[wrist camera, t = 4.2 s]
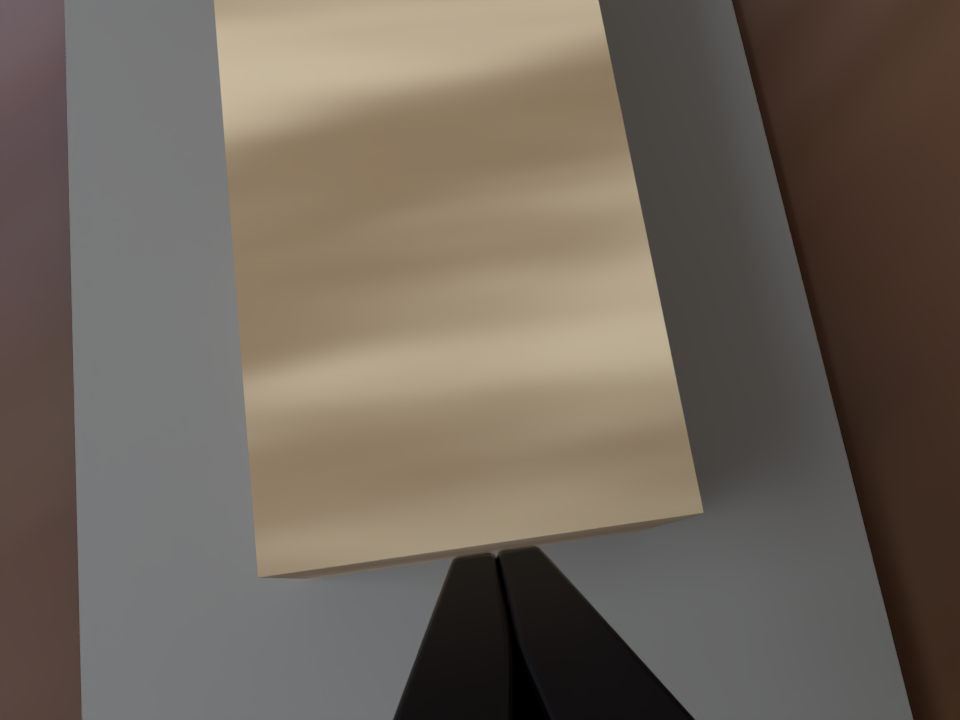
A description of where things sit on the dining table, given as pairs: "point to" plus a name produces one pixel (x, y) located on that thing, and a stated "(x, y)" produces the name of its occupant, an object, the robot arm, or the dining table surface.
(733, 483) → the rubber mat
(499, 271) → the birch block
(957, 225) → the dining table surface
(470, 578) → the robot arm
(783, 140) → the dining table surface
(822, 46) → the dining table surface
